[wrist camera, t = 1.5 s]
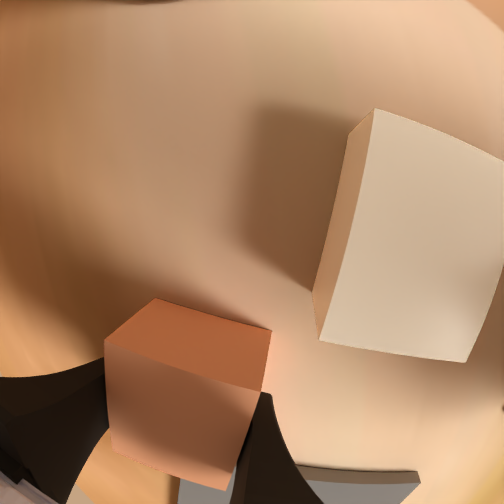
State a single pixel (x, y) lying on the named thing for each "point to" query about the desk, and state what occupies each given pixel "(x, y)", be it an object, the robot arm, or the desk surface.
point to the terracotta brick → (183, 390)
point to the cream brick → (411, 242)
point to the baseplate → (323, 487)
